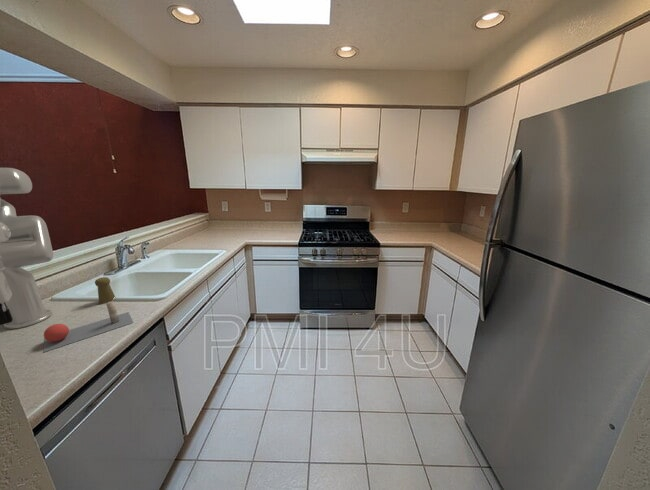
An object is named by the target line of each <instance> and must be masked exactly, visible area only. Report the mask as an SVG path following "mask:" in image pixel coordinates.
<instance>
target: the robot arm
mask: <svg viewBox="0 0 650 490" xmlns="http://www.w3.org/2000/svg"><path fill="white" fill-rule="evenodd" d="M32 189H33V182H32V180H31V178H30V176H29V175H28V174H26V173H25V172H24V171H22V170H19V169H17V168H15V167H0V195H17V194H22V195H23V194H30V192H31V191H32ZM53 257H54V250H53V246H52V242H51V237H50V233H49V230H48V225H47V223H46V221H45V220H44V219H43V218H42V217H41V216H39V215H18V216H17V212H16V207H14V205H13V204H11V203H9V202H8V201H6V200H5V199H2V198H0V326H2V325H3V327H4V328H6V329H9V330H10V329H12V330H13V329H20V328H25V327H28V326H32V325H36V324H38V323H40V322H41V323H42V322H43V321H45V320H46V319H49V317H51V316H52V314H53V312H52V310H51V309H48V308H47V309H46V308H45V306H44V305H45V304H44V303H43V300H42V297H41V294H40V292H39V289H38V285H37V283H36V280H35V277H34V275H33V274H32V273H31V272H30V271H28V270H27V269H24V268H23V267H27V266H33V265H34V266H35V265H40V264H45V263H48V262H50V261H52V260H53Z"/></svg>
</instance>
